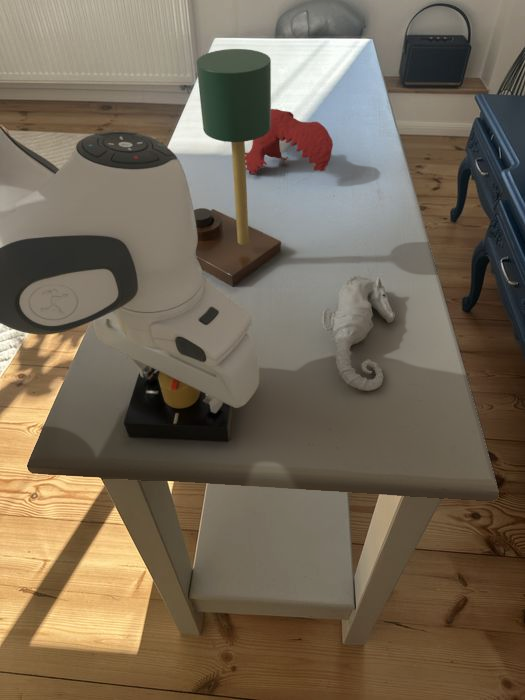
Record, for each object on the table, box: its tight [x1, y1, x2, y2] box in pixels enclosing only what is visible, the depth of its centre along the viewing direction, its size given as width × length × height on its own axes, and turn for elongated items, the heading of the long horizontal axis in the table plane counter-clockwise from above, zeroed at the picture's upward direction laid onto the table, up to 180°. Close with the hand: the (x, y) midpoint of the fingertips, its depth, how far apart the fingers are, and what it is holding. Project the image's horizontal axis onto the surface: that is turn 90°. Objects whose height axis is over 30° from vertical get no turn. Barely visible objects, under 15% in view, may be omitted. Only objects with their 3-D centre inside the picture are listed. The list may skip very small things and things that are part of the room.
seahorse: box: [321, 275, 396, 392], centre depth 66 cm, size 5×12×20 cm
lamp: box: [195, 48, 272, 245], centre depth 68 cm, size 9×9×26 cm
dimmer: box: [123, 371, 234, 443], centre depth 59 cm, size 12×9×3 cm
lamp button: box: [194, 207, 213, 228], centre depth 81 cm, size 4×4×2 cm
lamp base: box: [196, 208, 282, 287], centre depth 81 cm, size 16×12×4 cm
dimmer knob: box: [158, 372, 200, 408], centre depth 56 cm, size 4×4×4 cm
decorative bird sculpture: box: [245, 108, 334, 175], centre depth 100 cm, size 28×9×15 cm
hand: (181, 390), depth 57 cm, fingers open, 8 cm apart
